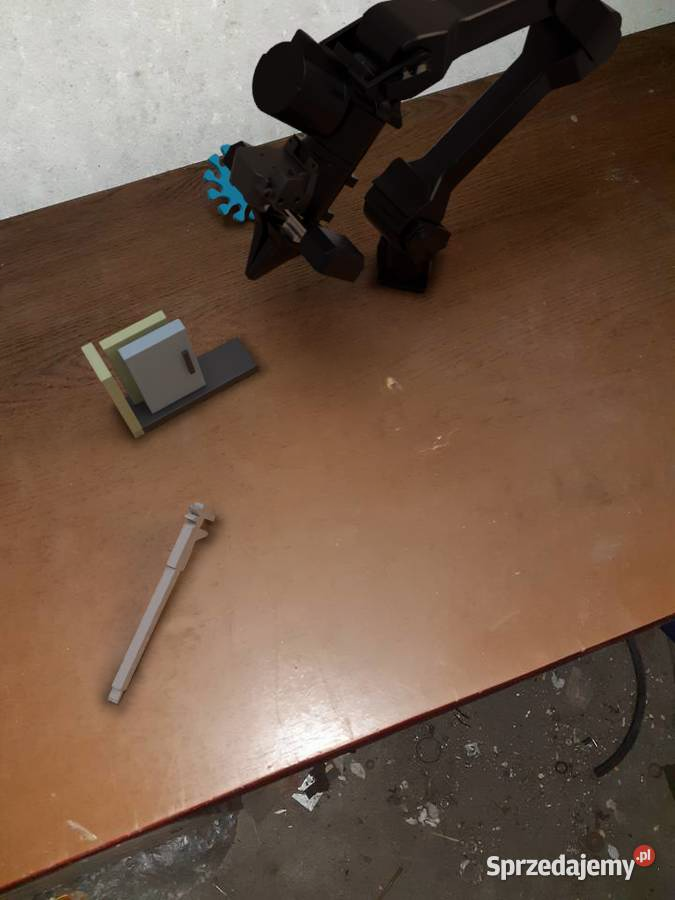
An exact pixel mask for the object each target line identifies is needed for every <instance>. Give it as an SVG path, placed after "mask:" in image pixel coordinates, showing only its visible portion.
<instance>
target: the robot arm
mask: <svg viewBox="0 0 675 900" xmlns="http://www.w3.org/2000/svg"><path fill="white" fill-rule="evenodd" d="M622 26H623V17H622V15H621V12H620V11H617V10H616V9H615V8H613V7H612V6H611V5H609V4H607V3H606V2H604V1H603V0H383V1H379V2H377V3H375V4H373V5H371V6H370V7H369V8H367V9H366V10H365V11H364V12H363V14H362V16H360V17H358V18H357V19H355V20H353V21H352V22H350V23H348V24H347V25H345V26H344V27H342V28H340V29H338V30H337V31H335V32H334V33H332V34H330V35H329V36H327V37H325V38H323V39H322V40H320V41H319V42H317V41H316V40H315V39H314V38H313V37H312V36H311V35H310V34H309V33H307V32H306V31H304V30H303V28H298V29H297V30H295V32H294V35H293V36H292V38H291V40H290V41H289V40H285V41H284V40H283V41H281V42H277V43H275V44H273V46H271V47H270V48H269V49H268V50H267V51H266V53H264V52H263V53H262V55H261V56H260V58H259V59H258V61H257V63H256V65H255V67H254V71H253V75H252V80H251V94H252V100H253V102H254V105H255V106H256V108H257V109H258V111H260V112H262V113H264V114H265V115H267V116H269V117H271V118H273V119H275V120H277V121H279V122H281V123H282V124H285V125H287V126H289V127H291V128H293V129H295V130H297V131H299V132H301V133H302V134H304V135H303V137H302V136H301V135H299V134H296V133H294V132H293V133H294V134H293V135H292V136H290V137H289V138H288V139H287V141H286V142H285V144H284V145H283V146H282V147H281V148H278V147H273V146H255V145H253V144H250V143H248V142H245V141H244V140H239V141H237V142H235V143H232V144H230V145H231V146H230V147H229V149H228V151H227V153H226V154H225V156H223V158H222V159H221V163H222V164H223V165H225V166H226V167H227V168H228V169H229V170H230V172H231V173H230V177H229V182H230V184H231V185H232V186H235V187H236V188H237V190H238V191H239V192H240V193H241V194H242V196H243V199H244V200H245V202H246V203H247V204H248V205H249V206H250V209H251V210H252V212H253V215H254V219H255V220H254V224H253V225H254V226H253V234H252V239H251V243H250V248H249V253H248V256H247V261H246V266H245V270H244V276H245V277H246V278H247V280H249V281H253V282H254V281H256V280H257V281H258V280H259V279H260V278H262V277H264V276H265V275H267V274H269V273H271V272H272V271H274V270H275V269H278V268H279V267H280V266H283V264H285V263H287V262H290V261H291V260H294V259H295V258H298V257H300V256H302V257H303V259H304V260H305V261H306V262H307V263H308V264H309V266H311V268H312V269H313V270H314V271H316V272H317V273H318V274H320V275H322V276H325V277H329V278H333V279H336V280H339V281H343V282H347V283H352V284H354V283H355V282H356V281H357V280H358V278H359V276H360V275H361V274H362V273H363V271H364V268H365V264H366V263H365V262H366V261H365V260H366V259H365V257H366V256H365V255H364V254H363V253H362V252H361V251H360V249H358V248H357V247H356V245H355V244H354V243H353V242H352V241H351V239H349V238H348V237H347V235H345V234H343V233H340V232H337V231H335V230H331V229H328V228H325V227H324V226H323V225H322V224H321V223H320V222H321V221H322V222H325V223H327V224H331V221H332V220H333V219H334V217H335V213H334V212H333V210H331V209H330V208H331V206H333V204H334V202H335V201H336V199H337V198H338V196H339V195H340V193H341V192H342V191H343V190H344V187H345V186H346V187H348V188H350V189H354V188H355V187H356V185H357V183H358V182H359V178H357V176H356V175H355V174H354V173H355V171H356V170H357V168H358V166H359V165H360V164H361V162H362V160H363V159H364V158H365V156H366V154H367V153H368V152H369V150H370V149H371V147H372V145H374V142H375V141H376V140H377V138H378V137H379V135H380V134H381V132H382V130H384V127H385V126H386V124H388V125H389V126H391V127H393V128H394V129H396V130H400V129H402V127H403V125H404V123H403V115H402V110H401V109H402V107H401V105H402V102H404V101H409V100H412V99H413V98H415V97H417V96H419V95H420V94H422V93H424V92H425V91H426V90H428V89H429V88H431V87H433V86H434V85H436V84H437V83H439V82H441V81H442V80H443V79H444V78H445V77H446V74H447V73H448V71H449V69H450V67H451V66H452V64H453V62H454V61H456V60H457V59H459V58H460V57H462V56H464V55H466V54H469V53H471V52H474V51H475V50H478V49H480V48H483V47H485V46H486V45H489V44H491V43H493V42H496V41H499V40H500V39H502V38H505V37H507V36H509V35H512V34H514V33H516V32H519V31H521V30H523V29H525V28H528V29H527V33H526V37H525V39H524V44H523V47H522V50H521V53H520V54H519V56H518V57H516V59H515V60H514V61H513V62H512V63H511V64H510V65H509V66H508V67H507V68H506V69H505V70H504V71H503V72H502V73H501V74H500V75H499V76H498V78H496V79H495V81H494V82H493V83H492V84H491V85H490V86H489V87H488V88H487V89H486V90H485V91H484V92H483V94H481V95H480V96H479V97H478V98H477V100H475V101H474V103H473V104H472V105H470V107H469V108H468V109H467V110H466V111H465V112H464V113H463V114H462V115H461V116H460V117H459V118H458V119H457V120H456V121H455V122H454V123H453V125H452V126H450V127H449V128H448V130H447V131H446V132H445V133H444V134H443V135H442V136H441V137H440V138H439V139H438V140H437V141H436V142H435V144H433V145H432V147H430V148H429V150H428V151H427V152H426V153H425V154H424V155H423V156H421V157H420V158H417V159H416V158H415V159H413V160H409V161H406V160H405V159H403V157H402V156H398V157H396V158H394V159H393V160H392V161H391V162H390V163H389V165H388V166H387V167H386V168H385V169H384V171H382V173H381V174H379V175H378V176H376V177H375V178H374V179H373V180H371V184H372V185H371V186H370V187H369V188H368V190H367V191H366V193H365V195H364V197H363V200H364V203H363V207H362V211H363V215H364V218H365V219H366V220H367V221H368V222H369V223H370V224H371V225H372V226H373V227H374V228H375V229H376V230H377V231H378V233H380V236H379V238H378V241H377V244H376V262H375V263H376V268H377V269H378V272H377V275H376V283H377V284H379V285H385V286H388V287H393V288H398V289H404V290H407V291H408V290H409V291H413V292H418V293H426V292H427V290H428V286H429V283H430V279H431V276H432V273H433V270H434V266H435V263H436V259H437V254H439V252H440V251H442V250H444V249H445V248H447V245H448V244H449V241H450V239H451V237H452V232H451V231H450V230H449V229H448V228H447V227H446V226H445V225H444V224H443V223H442V221H443V220H444V218H445V215H446V211H447V208H448V205H449V202H450V198H451V194H452V192H453V191H454V190H455V189H456V188H457V186H458V185H459V184H460V183H462V181H463V180H465V178H466V177H467V176H468V175H469V174H470V173H471V172H473V171H474V169H475V168H476V167H477V166H478V165H479V164H480V163H481V162H482V161H483V160H484V159H485V158H486V157H487V156H488V155H489V154H490V153H491V152H492V151H493V150H494V149H495V148H496V147H497V146H498V145H499V144H500V143H501V142H502V141H503V140H504V139H505V138H506V137H507V136H508V134H510V133H511V132H512V130H513V129H515V127H516V126H517V125H518V124H520V123H521V121H522V120H523V119H524V118H525V117H527V115H528V114H529V113H530V112H531V111H532V110H533V109H534V108H535V107H536V106H537V105H538V104H539V103H540V102H542V100H543V99H544V98H545V97H546V96H547V95H548V94H549V93H550V92H552V91H555V90H559V89H561V88H565V87H568V86H570V85H575V84H577V83H580V82H582V81H583V80H584V79H585V78H587V77H588V76H589V75H590V74H591V73H593V71H595V70H596V69H597V68H598V67H600V65H602V64H603V63H605V62H606V61H608V60H609V59H610V58H611V57H612V56H613V55H614V53H615V52H616V50H617V49H618V47H619V45H620V43H621V41H622V36H623V33H622Z"/></svg>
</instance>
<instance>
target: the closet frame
mask: <svg viewBox="0 0 675 900" xmlns="http://www.w3.org/2000/svg"><path fill="white" fill-rule="evenodd" d="M168 323H170V322H169V320H168V317H167V315H166V314H165V313H164V311H163V310H162V309H161V310H158V311H157V312H154V313H153V314H151V315H149V316H147V317H145V318H143V319H141V320H139V321H137V322H135V323H133V324H131V325H129V326H127V327H125V328H124V329H121V330H119V331H117V332H116V333H113V334H111V335H109V336H107V337H106V338H104V339H102V340H100V341H98V344H99V346H100V347H101V349H102V351H103V353H104V355H105V356H106V358H107V360H108V362H109V364H110V365H111V367H112V369H113V370H114V372H115V374H116V376H117V377H118V379H119V381H120V383H121V384H122V386H123V388H124V390H125V392H126V393H127V395H125V396H124V394H123V392H122V390H121V389H120V387H119V385H118V384H117V382H116V380H115V378H114V377H113V375H112V373H111V372H110V370H109V369H108V367H107V365H106V364H105V361H104V360H103V358H102V357H101V355H100V354H99V352H98V350H97V349H96V347H95V346H94V344H93V343H92V342H89V343H87V344H85V345H83V346H81V347H80V349H81V350H82V353H83V354H84V356H85V358H86V359H87V361H88V363H89V364H90V366H91V368H92V369H93V371H94V373H95V374H96V376H97V377H98V379H99V381H100V382H101V385H102V386H103V387H104V389H105V390H106V393H107V394H108V395H109V397H110V399H111V401H112V402H113V404H114V405H115V407H116V409H117V411H118V412H119V414H120V415H121V417H122V418H123V420H124V421H125V423H126V425H127V426H128V428H129V430H130V431H131V433H132V436H134V438H135V439H137V438H139V437H141V436H143V435H145V434H146V433H149V432H150V431H152V430H153V429H155V428H158V427H159V426H161V425H162V424H165V423H166V422H168V421H170V420H172V419H173V418H175V417H177V416H179V415H181V414H183V413H185V412H186V411H188V410H190V409H192V408H194V407H195V406H197V405H199V404H200V403H203V402H204V401H207V400H208V399H209V398H211V397H213V396H215V395H217V394H219V393H220V392H222V391H224V390H226V389H228V388H230V387H231V386H233V385H235V384H237V383H238V382H240V381H242V380H244V379H246V378H248V377H249V376H251V375H252V374H253V375H254V374H255V373H257V372H259V370H260V369H259V364H258V363H257V362H256V360H255V359H254V358H253V356H252V355H251V354H250V352H249V351H248V349H247V348H246V347H245V346H244V344H243V342H241V340H240V339H239V337H238V336H236V337H235V336H234V338H232V339H230V340H228V341H226V342H225V343H222V344H220V345H219V346H217V347H215V348H213V349H211V350H209V351H207V352H206V353H203V354H202V355H200V356H198V357H196V358H197V361H198V364H199V366H200V369H201V372H202V375H203V377H204V380H205V383H206V385H204V386H203V387H201V388H199V389H197V390H195V391H193V392H192V393H190V394H188V395H186V396H184V397H183V398H181V399H179V400H177V401H175V402H173V403H172V404H170V405H168V406H166V407H164V408H162V409H161V410H159V411H157V412H155V413H153V414H152V413H151V411H150V409H149V408H148V406H147V405H146V403H145V401H144V399H143V397H142V395H141V393H140V391H139V390H138V388H137V386H136V384H135V382H134V380H133V378H132V376H131V375H130V373H129V371H128V369H127V367H126V365H125V363H124V361H123V360H122V358H121V356H120V354H119V352H118V349H120V348H122V347H124V346H126V345H128V344H129V343H131V342H133V341H135V340H137V339H139V338H141V337H143V336H145V335H147V334H149V333H151V332H153V331H155V330H157V329H158V328H160V327H162V326H164V325H166V324H168Z"/></svg>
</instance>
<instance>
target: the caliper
mask: <svg viewBox="0 0 675 900" xmlns="http://www.w3.org/2000/svg"><path fill="white" fill-rule="evenodd" d="M188 510H189V512H188V513H186V514H185V515H184V516H183V518H185V519H187V521H186V522H184V524H183V526H182V528H181V530H180V532H179V534H178V537H177V540H176V542H175V544H174V546H173V549H172V550H171V552H170V554H169V557H168V559H167V561H166V564H165V566H166V567H165V569H164V571H163V573H162V576H161V578H160V580H159V582H158V584H157V586H156V589H155V591H154V593H153V595H152V597H151V600H150V602H149V604H148V606H147V608H146V610H145V613H144V615H143V617H142V619H141V620H140V624H139V625H138V627H137V630H136V632H135V633H134V636H133V638H132V641H131V642H130V645H129V647H128V649H127V651H126V654H125V656H124V658H123V659H122V662H121V664H120V667H119V668H118V670H117V673H116V675H115V678H114V680H113V682H112V684H111V687H112V688H111V691H110V692H109V695H108V698H107V700H108V701H110V702H112V703H114V704H116V705H118V704H119V702H120V701H121V697H122V695H123V694H124V691H126V690H127V689H128V687H129V685H130V682H131V680H132V678H133V676H134V674H135V671H136V669H137V667H138V665H139V662H140V660H141V658H142V656H143V653H144V652H145V649H146V647H147V645H148V642H149V640H150V639H151V636H152V635H153V632H154V629H155V627H156V625H157V623H158V621H159V619H160V616H161V614H162V612H163V610H164V608H165V605H166V603H167V602H168V599H169V597H170V595H171V592H172V591H173V588H174V585H175V583H176V581H177V579H178V577H179V575H180V573H181V572H184V571H185V568H186V565H187V563H188V561H189V559H190V557H191V555H192V551H193V548H194V544H195V543H196V541H198V540H201V539H204V538H206V537H208V535H209V532H208V531H206V530H205V529H203V528H201V526H202V524H203V522H204V520H208V521H210V522H213V523H214V522H215V520H216V516H215V514H214V512H213V510H212V508H211V506H209V505H206V504H203V503H200V502H198V501H194V503H193V505H192V504H188Z"/></svg>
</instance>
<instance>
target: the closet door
mask: <svg viewBox="0 0 675 900" xmlns="http://www.w3.org/2000/svg"><path fill="white" fill-rule="evenodd" d="M118 352H119V354H120V356H121V358H122V360H123V361H124V363H125V365H126V367H127V369H128V371H129V373H130V375H131V376H132V378H133V380H134V382H135V384H136V386H137V388H138V390H139V391H140V393H141V395H142V397H143V399H144V401H145V403H146V405H147V406H148V408H149V409H150V411H151V413H152V414H153V413H155V412H157V411H159V410H161V409H162V408H164V407H166V406H168V405H170V404H172V403H173V402H175V401H177V400H179V399H181V398H183V397H184V396H186V395H188V394H190V393H192V392H193V391H195V390H197V389H199V388H201V387H203V386H204V385H206V383H205V380H204V377H203V375H202V372H201V369H200V366H199V364H198V361H197V358H198V357H197V356H196V353H195V351H194V347H193V345H192V342H191V339H190V337H189V334H188V331H187V328H186V327H185V325H184V324H183V322H182V321H181V319H180V318H176V319H174V320H172V321H170V322H169V323H168V324H166V325H164V326H162V327H160V328H158V329H157V330H155V331H153V332H151V333H149V334H147V335H145V336H143V337H141V338H139V339H137V340H135V341H133V342H131V343H129V344H128V345H126V346H124V347H122V348H120V349H118Z"/></svg>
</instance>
